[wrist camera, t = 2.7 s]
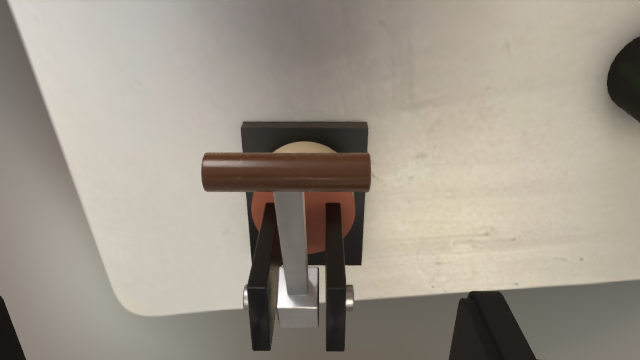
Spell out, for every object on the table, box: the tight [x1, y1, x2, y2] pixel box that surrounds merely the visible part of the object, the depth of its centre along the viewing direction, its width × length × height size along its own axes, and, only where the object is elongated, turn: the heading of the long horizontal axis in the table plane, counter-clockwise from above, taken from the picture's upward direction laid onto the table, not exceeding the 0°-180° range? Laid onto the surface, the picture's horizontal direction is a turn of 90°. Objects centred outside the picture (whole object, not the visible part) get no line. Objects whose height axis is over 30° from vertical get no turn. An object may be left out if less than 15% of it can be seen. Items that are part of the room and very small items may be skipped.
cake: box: [251, 141, 355, 254], centre depth 33 cm, size 7×7×4 cm
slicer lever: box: [201, 153, 371, 328], centre depth 22 cm, size 13×6×2 cm, turn 0°
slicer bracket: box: [241, 122, 368, 351], centre depth 30 cm, size 12×9×14 cm
